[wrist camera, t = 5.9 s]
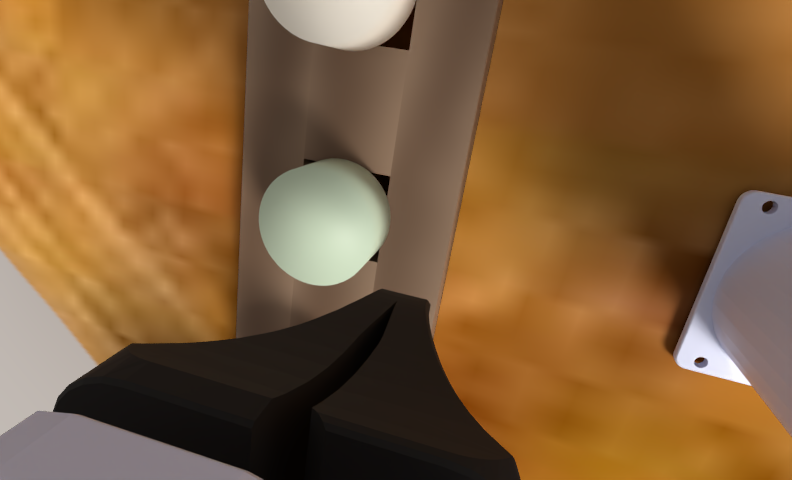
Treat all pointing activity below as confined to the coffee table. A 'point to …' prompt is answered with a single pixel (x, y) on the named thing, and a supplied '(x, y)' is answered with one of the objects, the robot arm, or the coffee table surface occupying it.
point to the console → (363, 148)
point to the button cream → (342, 20)
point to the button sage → (324, 220)
